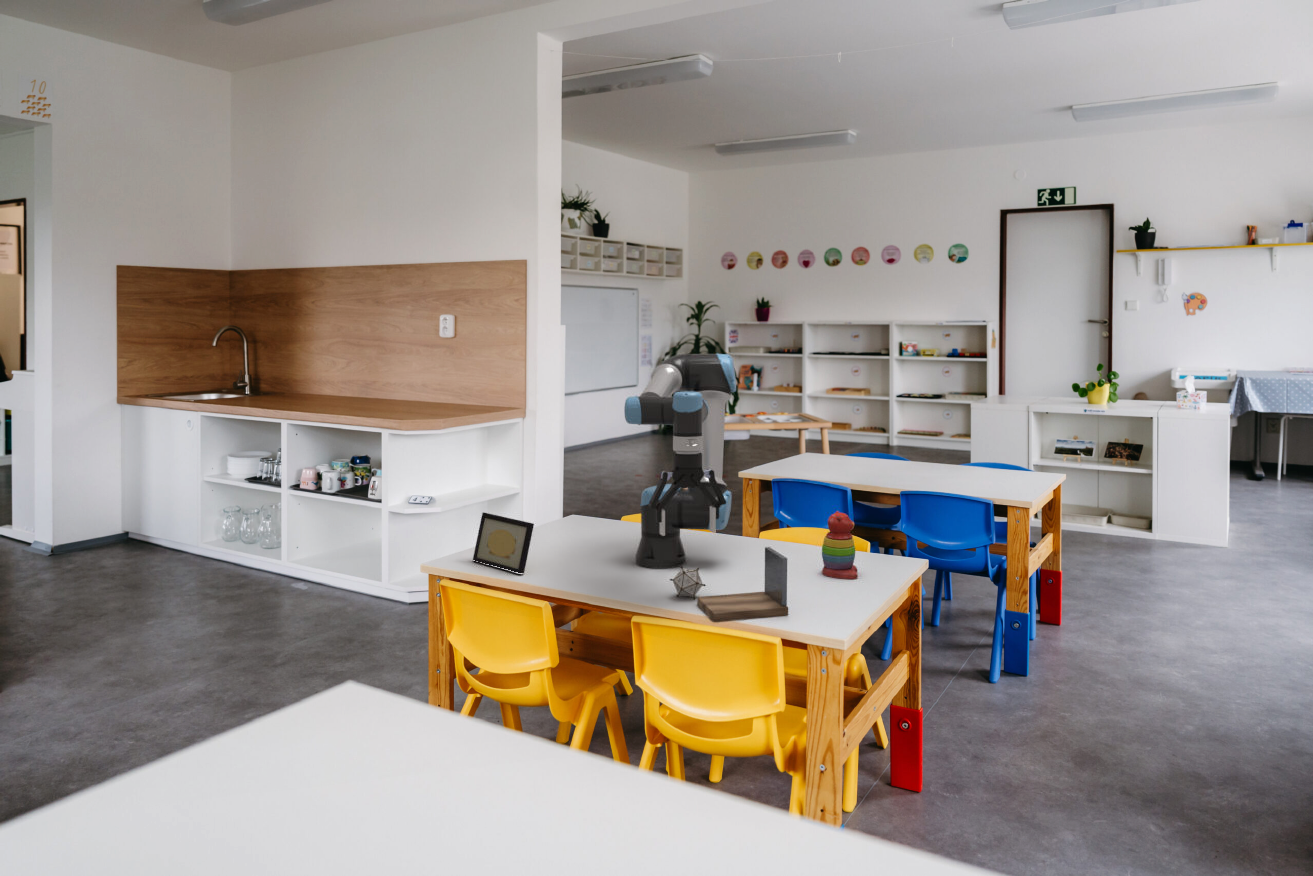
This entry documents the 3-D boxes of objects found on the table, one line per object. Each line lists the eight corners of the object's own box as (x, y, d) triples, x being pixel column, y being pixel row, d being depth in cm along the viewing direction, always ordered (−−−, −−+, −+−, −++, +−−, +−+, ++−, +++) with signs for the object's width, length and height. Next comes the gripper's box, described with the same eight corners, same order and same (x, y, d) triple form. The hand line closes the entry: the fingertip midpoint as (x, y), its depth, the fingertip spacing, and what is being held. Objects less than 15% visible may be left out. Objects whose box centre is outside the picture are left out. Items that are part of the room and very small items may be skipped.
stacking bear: (857, 580, 251) (859, 517, 249) (821, 578, 253) (822, 516, 251) (857, 569, 262) (858, 509, 260) (821, 568, 264) (822, 508, 262)
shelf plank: (697, 604, 230) (697, 597, 229) (767, 598, 234) (767, 591, 234) (714, 621, 216) (714, 613, 216) (788, 615, 221) (788, 607, 221)
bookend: (764, 592, 233) (764, 547, 231) (768, 592, 233) (769, 546, 232) (782, 606, 221) (782, 558, 220) (786, 606, 222) (787, 558, 220)
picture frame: (471, 562, 273) (475, 512, 272) (495, 559, 279) (499, 511, 279) (520, 576, 257) (523, 523, 256) (544, 573, 264) (547, 522, 263)
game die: (681, 609, 238) (668, 575, 242) (710, 597, 238) (697, 563, 242) (678, 602, 230) (664, 567, 234) (708, 590, 230) (694, 555, 234)
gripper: (643, 455, 225) (644, 539, 227) (738, 452, 231) (737, 533, 233) (637, 451, 232) (637, 532, 235) (729, 448, 238) (728, 527, 241)
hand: (687, 533), depth 234 cm, fingers open, 13 cm apart
